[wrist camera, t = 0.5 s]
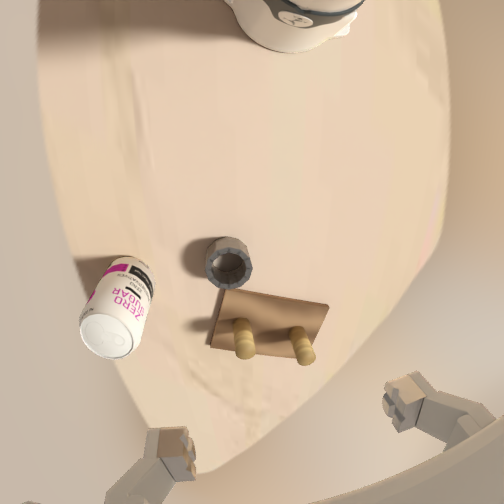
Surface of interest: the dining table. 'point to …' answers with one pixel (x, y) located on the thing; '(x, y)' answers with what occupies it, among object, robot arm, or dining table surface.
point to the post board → (267, 325)
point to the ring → (232, 277)
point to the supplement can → (118, 309)
